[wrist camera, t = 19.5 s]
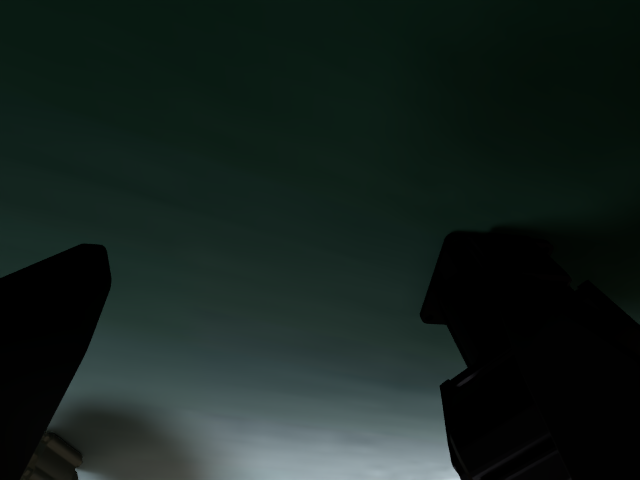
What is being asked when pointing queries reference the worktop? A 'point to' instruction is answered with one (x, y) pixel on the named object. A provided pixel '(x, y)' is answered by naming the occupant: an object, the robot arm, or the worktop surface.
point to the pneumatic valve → (53, 460)
